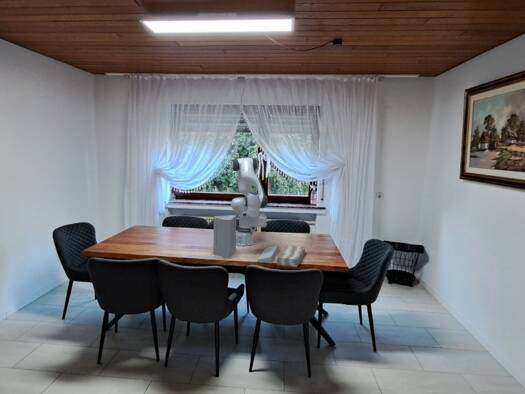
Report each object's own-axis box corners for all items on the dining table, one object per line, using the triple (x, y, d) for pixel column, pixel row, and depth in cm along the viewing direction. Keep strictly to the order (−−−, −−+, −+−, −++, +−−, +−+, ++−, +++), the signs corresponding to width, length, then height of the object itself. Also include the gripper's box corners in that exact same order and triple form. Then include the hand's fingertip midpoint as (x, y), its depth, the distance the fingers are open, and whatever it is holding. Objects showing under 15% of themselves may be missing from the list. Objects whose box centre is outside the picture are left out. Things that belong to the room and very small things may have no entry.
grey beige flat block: (276, 264, 251) (276, 257, 250) (286, 251, 285) (286, 245, 285) (297, 266, 247) (297, 259, 247) (304, 253, 282) (305, 246, 281)
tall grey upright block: (217, 250, 284) (217, 214, 281) (235, 251, 282) (236, 215, 278) (209, 256, 265) (210, 218, 262) (229, 258, 263) (230, 220, 260)
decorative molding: (258, 266, 256) (272, 263, 254) (257, 259, 255) (270, 257, 253) (267, 253, 289) (279, 251, 287) (266, 247, 289) (278, 245, 287)
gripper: (268, 214, 271) (267, 232, 272) (241, 212, 276) (241, 230, 277) (265, 215, 264) (265, 234, 266) (239, 213, 270) (238, 232, 271)
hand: (253, 232), depth 272 cm, fingers closed
